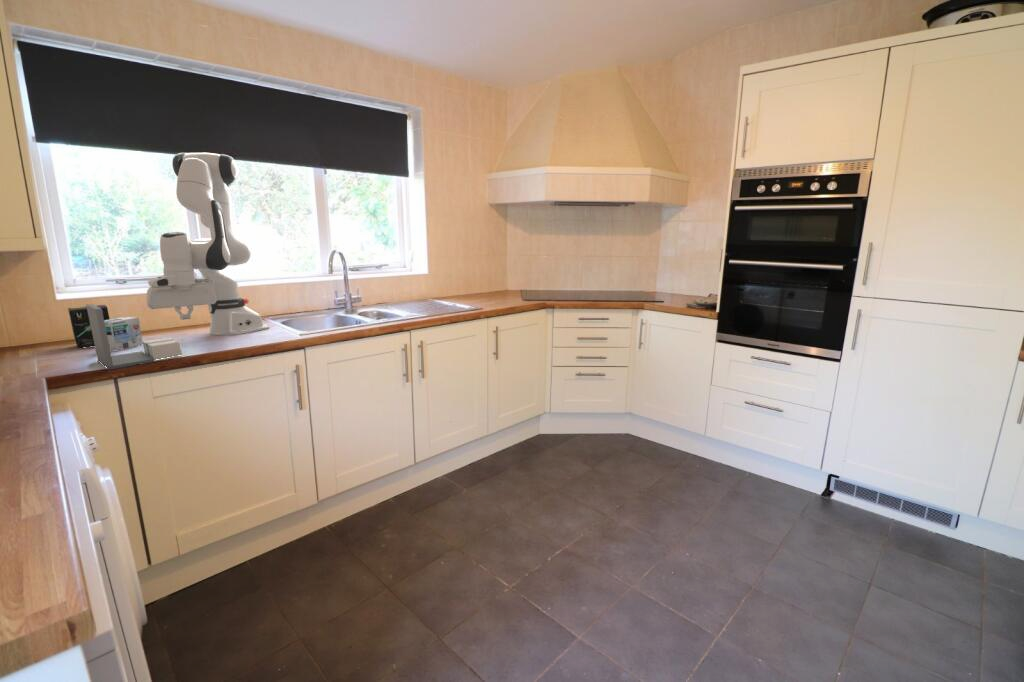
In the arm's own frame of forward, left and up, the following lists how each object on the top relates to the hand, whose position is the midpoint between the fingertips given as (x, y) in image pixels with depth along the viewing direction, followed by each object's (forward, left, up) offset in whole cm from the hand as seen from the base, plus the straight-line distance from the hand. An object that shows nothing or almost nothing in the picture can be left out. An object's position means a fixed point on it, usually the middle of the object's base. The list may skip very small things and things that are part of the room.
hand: (185, 319), depth 169 cm
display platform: (+19, -1, -12) cm, 22 cm away
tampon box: (+21, -41, -12) cm, 47 cm away
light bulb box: (+15, -27, -12) cm, 32 cm away
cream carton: (+8, -1, -12) cm, 14 cm away
